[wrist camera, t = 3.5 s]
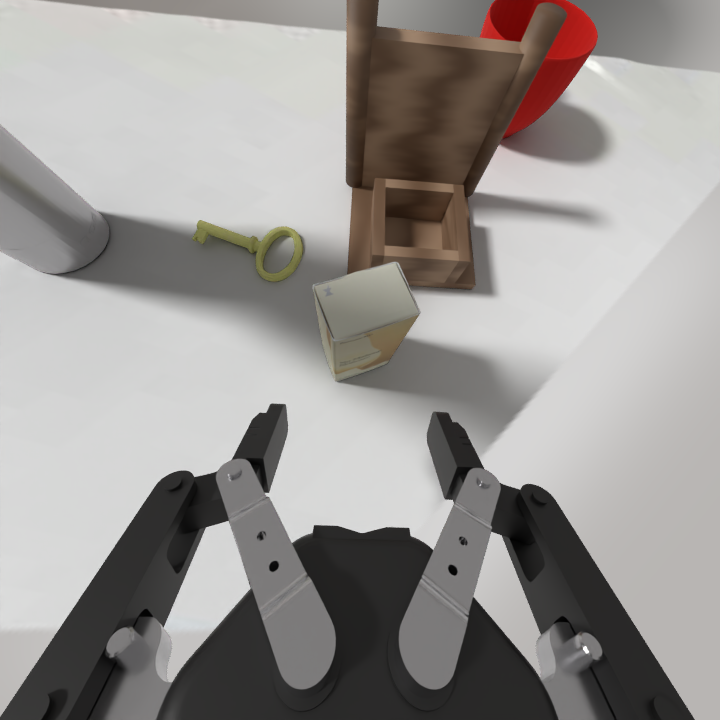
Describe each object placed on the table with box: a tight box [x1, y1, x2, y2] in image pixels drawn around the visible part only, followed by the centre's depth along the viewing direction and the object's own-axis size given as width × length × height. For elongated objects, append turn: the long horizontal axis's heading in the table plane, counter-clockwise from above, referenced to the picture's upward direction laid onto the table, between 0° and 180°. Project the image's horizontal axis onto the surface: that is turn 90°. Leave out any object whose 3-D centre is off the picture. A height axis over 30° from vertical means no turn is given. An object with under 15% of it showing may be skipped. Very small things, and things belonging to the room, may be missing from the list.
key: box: [192, 220, 303, 282], centre depth 30 cm, size 7×12×2 cm, turn 91°
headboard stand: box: [346, 0, 567, 289], centre depth 25 cm, size 17×15×16 cm
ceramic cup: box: [480, 0, 598, 138], centre depth 35 cm, size 13×17×10 cm
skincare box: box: [312, 262, 420, 381], centre depth 22 cm, size 6×4×12 cm
